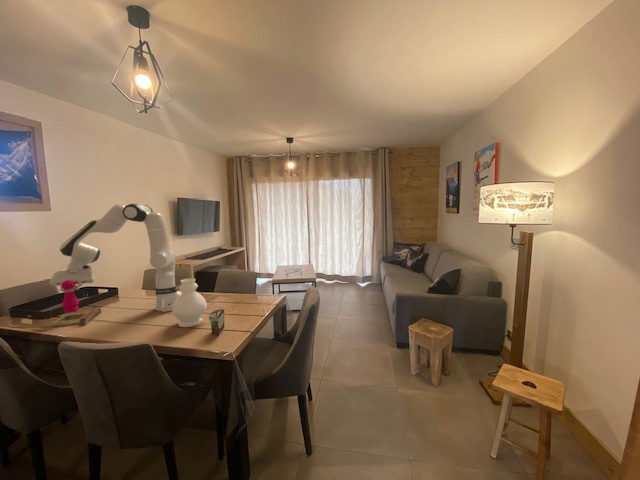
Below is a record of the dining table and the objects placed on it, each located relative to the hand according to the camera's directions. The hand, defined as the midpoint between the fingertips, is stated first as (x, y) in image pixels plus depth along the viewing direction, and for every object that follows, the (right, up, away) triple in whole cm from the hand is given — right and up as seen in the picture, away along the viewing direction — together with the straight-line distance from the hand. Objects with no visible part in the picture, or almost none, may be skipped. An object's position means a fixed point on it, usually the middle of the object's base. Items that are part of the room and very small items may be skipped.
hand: (69, 289), depth 152 cm
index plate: (0, -19, +2) cm, 19 cm away
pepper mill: (0, -13, +1) cm, 13 cm away
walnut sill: (+9, -18, +5) cm, 21 cm away
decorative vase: (+73, -18, -3) cm, 75 cm away
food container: (+92, -19, -15) cm, 95 cm away
